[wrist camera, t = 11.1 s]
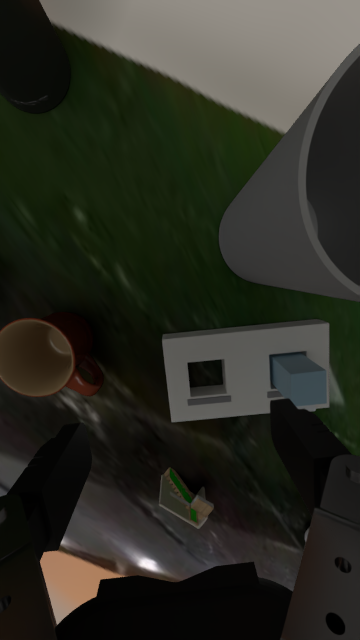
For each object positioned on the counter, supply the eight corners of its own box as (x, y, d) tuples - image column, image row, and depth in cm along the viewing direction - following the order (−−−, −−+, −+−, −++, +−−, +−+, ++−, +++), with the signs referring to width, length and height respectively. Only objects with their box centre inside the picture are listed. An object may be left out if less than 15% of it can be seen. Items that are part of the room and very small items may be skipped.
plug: (265, 350, 39) (290, 374, 31) (293, 347, 39) (326, 370, 31) (267, 385, 40) (292, 417, 32) (294, 382, 40) (326, 414, 32)
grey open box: (175, 455, 43) (175, 497, 35) (210, 477, 44) (217, 523, 36) (161, 473, 44) (157, 518, 36) (196, 494, 44) (199, 543, 36)
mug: (28, 340, 39) (-25, 365, 29) (62, 292, 38) (20, 301, 28) (96, 389, 40) (69, 429, 30) (131, 344, 39) (115, 370, 29)
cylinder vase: (269, 164, 35) (487, -85, 10) (330, 238, 37) (639, 174, 12) (198, 234, 36) (239, 163, 12) (259, 302, 38) (405, 361, 14)
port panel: (163, 334, 39) (161, 340, 36) (317, 318, 39) (330, 323, 35) (172, 411, 41) (171, 423, 38) (318, 397, 41) (330, 408, 38)
